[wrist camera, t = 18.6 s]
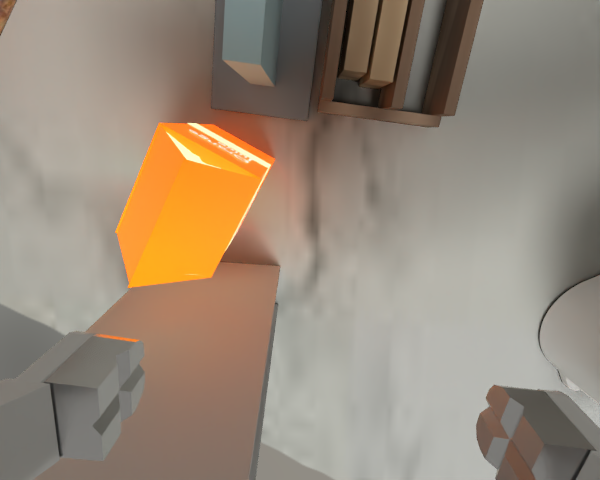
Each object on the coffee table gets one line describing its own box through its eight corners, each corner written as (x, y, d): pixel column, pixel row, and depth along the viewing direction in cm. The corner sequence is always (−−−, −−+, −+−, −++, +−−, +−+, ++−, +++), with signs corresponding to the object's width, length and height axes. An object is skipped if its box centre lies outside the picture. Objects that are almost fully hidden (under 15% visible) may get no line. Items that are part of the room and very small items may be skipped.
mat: (333, -90, 31) (334, -95, 30) (307, 121, 36) (307, 121, 36) (221, -108, 30) (220, -113, 30) (212, 108, 36) (211, 108, 35)
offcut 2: (398, -26, 32) (419, -58, 27) (377, 89, 35) (392, 81, 30) (377, -29, 32) (394, -62, 26) (358, 86, 35) (369, 78, 30)
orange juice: (179, 194, 39) (63, 259, 20) (212, 122, 36) (114, 118, 17) (241, 227, 40) (188, 317, 21) (277, 159, 38) (252, 192, 19)
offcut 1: (373, -23, 32) (387, -52, 27) (356, 80, 35) (366, 72, 30) (352, -26, 32) (362, -56, 27) (337, 78, 35) (343, 69, 30)
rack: (470, -55, 31) (507, -96, 26) (428, 127, 36) (451, 127, 31) (342, -75, 31) (351, -121, 25) (317, 112, 36) (320, 109, 30)
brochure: (164, 298, 43) (-105, 638, 14) (162, 258, 41) (-149, 552, 13) (277, 306, 43) (233, 653, 15) (280, 265, 41) (234, 571, 13)
